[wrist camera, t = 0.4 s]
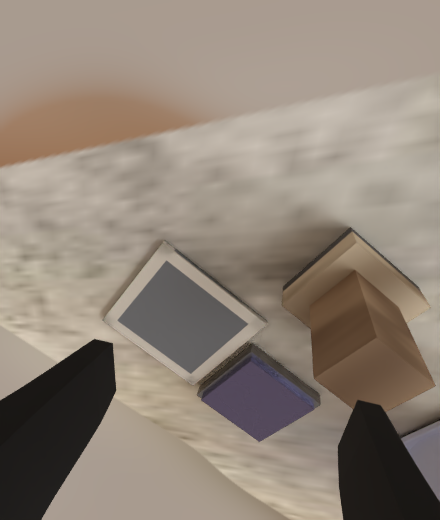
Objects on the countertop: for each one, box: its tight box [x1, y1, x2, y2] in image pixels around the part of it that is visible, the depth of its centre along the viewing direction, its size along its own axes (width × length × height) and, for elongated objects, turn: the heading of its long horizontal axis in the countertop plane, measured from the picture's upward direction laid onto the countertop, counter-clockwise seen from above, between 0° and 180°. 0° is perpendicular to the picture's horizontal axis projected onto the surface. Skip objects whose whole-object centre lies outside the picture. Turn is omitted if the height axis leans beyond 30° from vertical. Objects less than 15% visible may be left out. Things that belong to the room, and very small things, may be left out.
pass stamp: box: [282, 228, 435, 412], centre depth 16 cm, size 5×5×7 cm
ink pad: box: [197, 343, 321, 442], centre depth 23 cm, size 6×6×1 cm
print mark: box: [103, 241, 267, 386], centre depth 22 cm, size 8×8×1 cm
